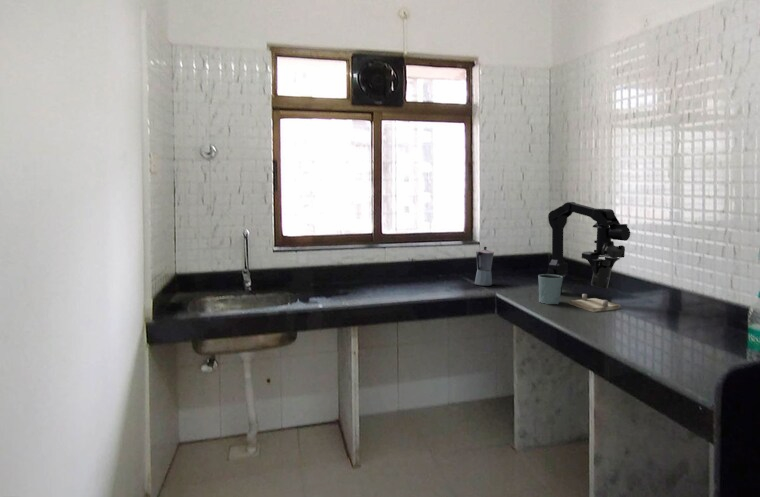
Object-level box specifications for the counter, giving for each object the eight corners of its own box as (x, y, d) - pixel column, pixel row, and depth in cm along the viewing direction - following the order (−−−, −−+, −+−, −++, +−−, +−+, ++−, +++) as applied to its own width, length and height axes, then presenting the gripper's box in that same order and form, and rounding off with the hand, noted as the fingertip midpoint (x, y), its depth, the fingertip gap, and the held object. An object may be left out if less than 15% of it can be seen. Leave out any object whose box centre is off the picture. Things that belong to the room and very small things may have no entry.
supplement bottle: (609, 289, 209) (615, 261, 208) (592, 286, 210) (597, 259, 209) (605, 286, 216) (610, 259, 214) (589, 284, 217) (594, 257, 216)
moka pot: (497, 283, 261) (498, 245, 258) (487, 288, 248) (487, 249, 245) (480, 281, 266) (480, 244, 263) (469, 286, 253) (469, 248, 250)
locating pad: (593, 311, 201) (593, 302, 201) (569, 304, 214) (570, 295, 214) (620, 308, 206) (620, 299, 205) (595, 301, 219) (595, 292, 218)
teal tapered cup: (532, 301, 220) (533, 274, 219) (550, 298, 224) (551, 273, 223) (548, 306, 211) (549, 278, 210) (566, 303, 215) (567, 276, 214)
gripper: (601, 241, 200) (599, 279, 202) (636, 239, 206) (633, 275, 208) (581, 238, 210) (579, 274, 212) (614, 236, 217) (613, 271, 219)
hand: (602, 274), depth 213 cm, fingers closed on supplement bottle, 7 cm apart
